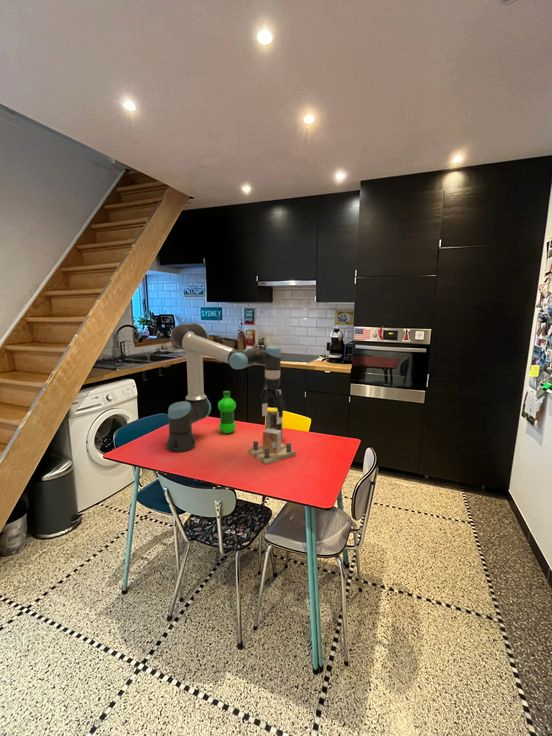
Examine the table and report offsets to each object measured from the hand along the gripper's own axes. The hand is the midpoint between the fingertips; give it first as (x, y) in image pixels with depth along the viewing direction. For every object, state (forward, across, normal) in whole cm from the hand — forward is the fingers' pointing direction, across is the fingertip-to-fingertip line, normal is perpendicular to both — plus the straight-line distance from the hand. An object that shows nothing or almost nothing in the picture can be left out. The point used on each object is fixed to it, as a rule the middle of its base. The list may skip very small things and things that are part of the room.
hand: (271, 419), depth 168 cm
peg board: (+19, 0, 0) cm, 19 cm away
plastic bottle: (+19, +40, +6) cm, 44 cm away
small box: (+17, 0, 0) cm, 17 cm away
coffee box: (+19, +15, -11) cm, 26 cm away
